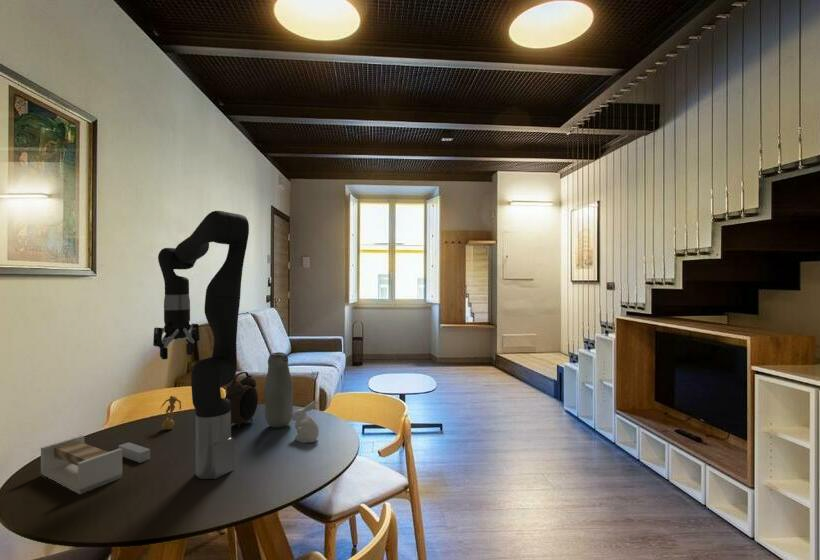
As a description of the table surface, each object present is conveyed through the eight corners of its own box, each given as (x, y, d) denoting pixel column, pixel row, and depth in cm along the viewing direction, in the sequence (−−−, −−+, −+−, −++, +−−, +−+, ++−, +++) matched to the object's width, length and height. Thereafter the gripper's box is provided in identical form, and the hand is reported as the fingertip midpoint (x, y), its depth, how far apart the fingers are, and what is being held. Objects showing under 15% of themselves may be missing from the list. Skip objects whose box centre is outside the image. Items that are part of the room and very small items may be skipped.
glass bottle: (295, 421, 157) (295, 350, 157) (288, 431, 147) (288, 355, 147) (269, 421, 157) (269, 350, 157) (261, 431, 147) (260, 355, 147)
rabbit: (289, 436, 142) (289, 403, 142) (314, 430, 148) (313, 397, 148) (304, 447, 132) (304, 411, 132) (329, 440, 138) (329, 405, 138)
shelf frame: (122, 477, 113) (122, 449, 113) (80, 494, 104) (80, 463, 104) (82, 461, 123) (82, 435, 123) (40, 475, 114) (40, 447, 114)
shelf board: (109, 461, 112) (109, 452, 112) (86, 469, 107) (86, 460, 107) (77, 449, 120) (77, 440, 120) (54, 456, 115) (54, 447, 115)
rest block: (150, 458, 125) (150, 449, 125) (140, 462, 122) (140, 453, 122) (128, 451, 130) (128, 442, 130) (118, 455, 127) (118, 445, 127)
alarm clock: (238, 432, 146) (238, 377, 146) (221, 431, 147) (221, 376, 147) (261, 418, 160) (261, 368, 160) (245, 417, 162) (245, 368, 162)
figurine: (153, 430, 148) (153, 398, 148) (165, 425, 154) (165, 393, 154) (174, 431, 147) (174, 399, 147) (185, 426, 153) (185, 394, 153)
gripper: (162, 310, 125) (162, 361, 125) (204, 307, 138) (204, 354, 138) (148, 309, 129) (148, 359, 129) (190, 306, 141) (190, 352, 141)
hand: (177, 356), depth 133 cm, fingers open, 8 cm apart
